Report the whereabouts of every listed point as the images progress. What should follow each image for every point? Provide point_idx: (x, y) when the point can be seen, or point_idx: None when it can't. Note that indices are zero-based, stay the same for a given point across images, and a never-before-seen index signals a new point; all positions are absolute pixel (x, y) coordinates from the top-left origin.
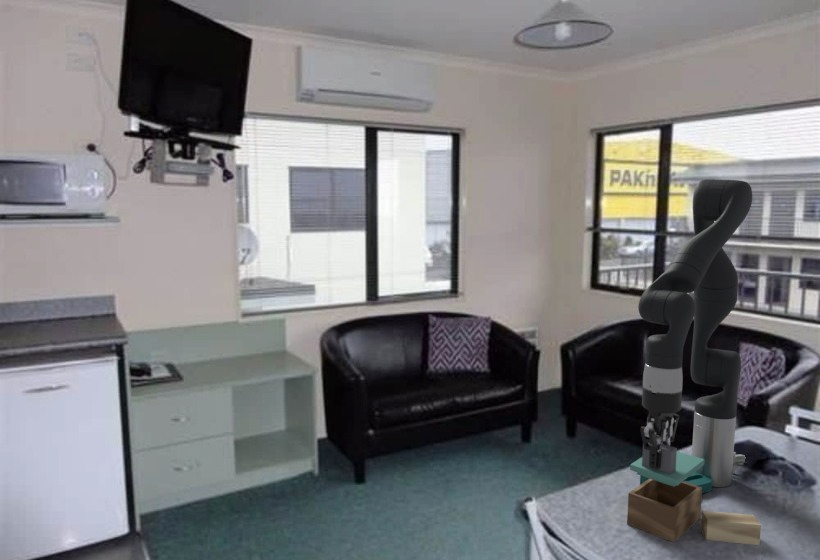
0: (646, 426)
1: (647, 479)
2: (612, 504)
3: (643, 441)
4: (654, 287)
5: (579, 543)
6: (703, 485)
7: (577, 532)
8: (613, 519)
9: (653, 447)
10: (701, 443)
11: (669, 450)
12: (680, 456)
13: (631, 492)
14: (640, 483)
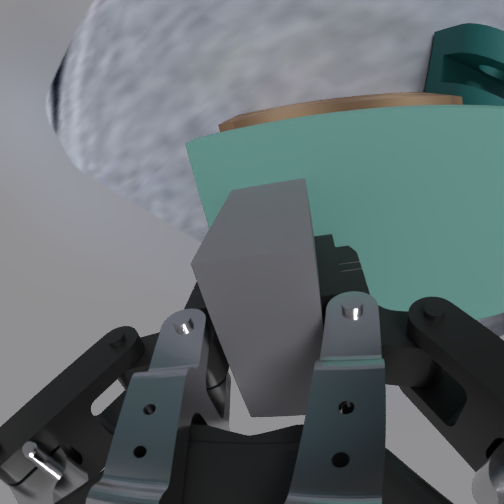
0: (12, 491)
1: (453, 53)
2: (295, 22)
3: (60, 381)
4: None
5: (77, 129)
6: None
7: (99, 90)
8: (224, 79)
9: (116, 405)
10: None
11: (256, 408)
12: (493, 244)
13: (232, 127)
14: (444, 31)
